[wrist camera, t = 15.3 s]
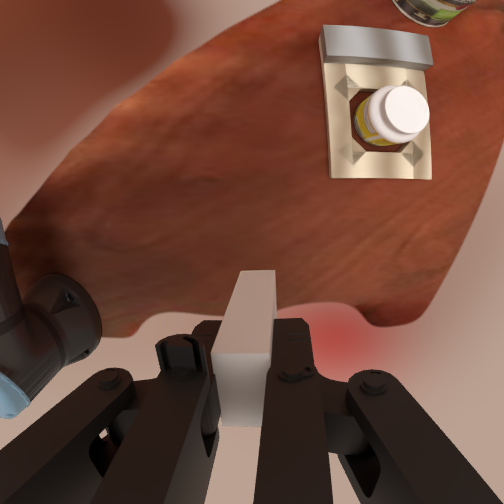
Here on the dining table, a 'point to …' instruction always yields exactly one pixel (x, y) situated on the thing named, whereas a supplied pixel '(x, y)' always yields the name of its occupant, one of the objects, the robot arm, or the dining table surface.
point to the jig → (370, 80)
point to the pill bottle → (391, 116)
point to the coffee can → (431, 10)
